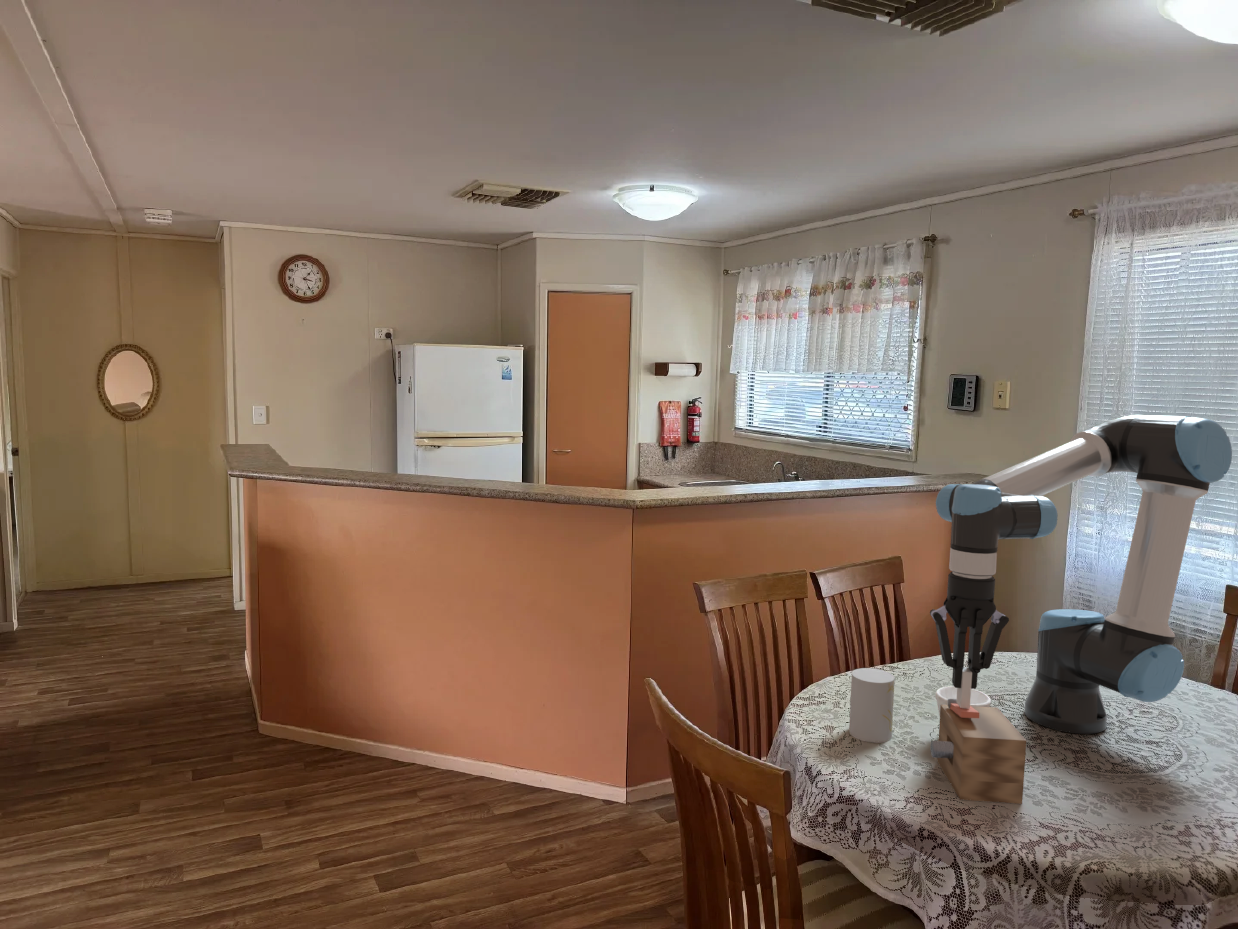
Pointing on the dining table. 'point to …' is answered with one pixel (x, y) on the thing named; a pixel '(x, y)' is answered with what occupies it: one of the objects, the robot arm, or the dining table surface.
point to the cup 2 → (951, 693)
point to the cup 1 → (871, 705)
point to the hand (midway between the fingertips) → (962, 705)
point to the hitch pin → (942, 749)
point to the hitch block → (983, 756)
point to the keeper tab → (962, 710)
